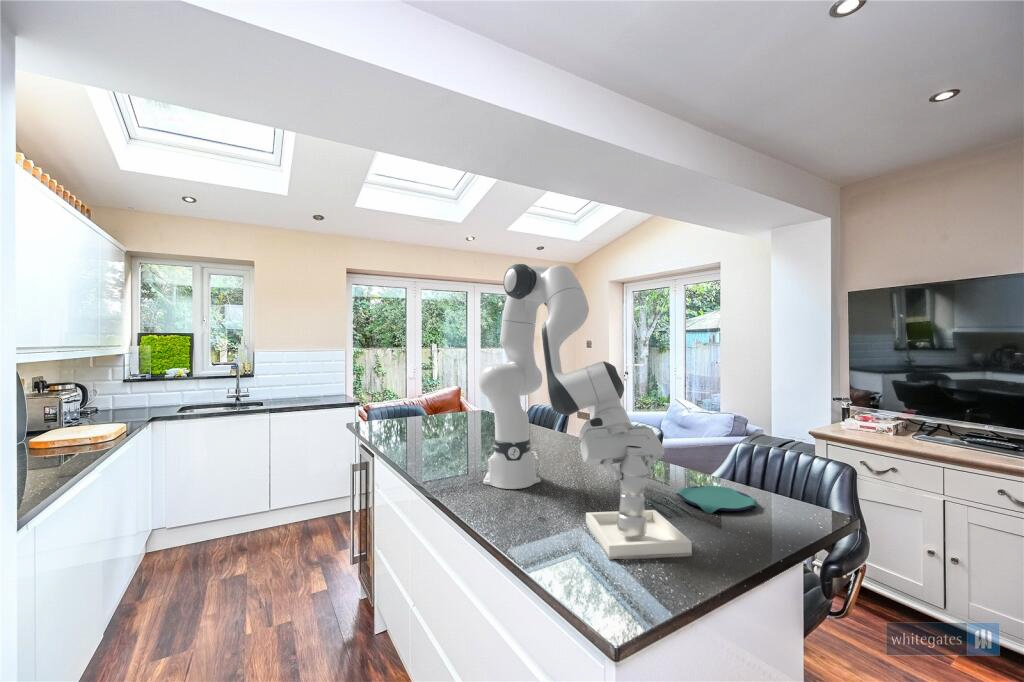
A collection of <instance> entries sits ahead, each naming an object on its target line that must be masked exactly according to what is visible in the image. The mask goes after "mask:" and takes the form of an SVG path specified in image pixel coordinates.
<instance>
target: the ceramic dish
mask: <svg viewBox="0 0 1024 682" xmlns="http://www.w3.org/2000/svg"><path fill="white" fill-rule="evenodd" d="M618 513H619V510H618V511H616V510H615V511H595V512H593V511H592V512H585V526H586V525H587V526H586V527H587V529H588V528H589V529H588V530H589V532H590V534H591V535H592V536H593V538H594V537H595V538H594V540H595V539H596V540H597V541H596V540H595V541H596V543H597V542H598V543H599V544H598V543H597V544H598V546H599V545H600V546H601V547H600V546H599V547H600V548H602V549H603V550H602V549H601V550H602V552H603V551H604V552H605V553H604V552H603V553H604V555H605V554H606V555H605V556H606V558H607V557H608V558H607V559H608V560H609V561H614V560H613V559H624V560H639V559H643V560H644V559H660V558H661V559H662V558H678V557H679V558H682V557H692V556H693V551H692V550H693V549H692V547H693V546H692V545H693V544H692V541H691V540H690V539H689V538H688V537H687V536H686V535H684V534H683V533H682V532H681V531H680V530H678V528H677V527H675V526H674V525H673V524H672V523H671V522H670V521H669V520H667V519H666V518H665V517H664V516H663V515H661V514H660V513H659V512H658V510H657V509H645V516H646V520H647V530H646V534H645V535H644V536H643V537H641V538H633V537H627V536H624V535H622V534H620V532H619V531H618V529H617V517H618Z"/></svg>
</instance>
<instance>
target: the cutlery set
mask: <svg viewBox="0 0 1024 682" xmlns="http://www.w3.org/2000/svg"><path fill="white" fill-rule="evenodd" d="M676 495H677V496H678V497H679V499H681V500H683V501H684V502H685V503H688V504H690V505H692V506H695V507H698V508H701V510H703V512H705V513H706V514H710V513H711V514H713V513H715V512H716V511H724V512H740V511H745V510H749V509H751V508H754V509H756V507H757V504H758V501H757V500H756V498H753V497H752V496H750V495H748V494H746V493H744V492H741V491H738V490H734V489H733V488H732V487H725V486H719V485H703V486H701V485H700V486H698V485H697V486H690V487H689V486H688V487H682V488H680V489H679V491H678V492H677V493H676ZM653 497H658V498H660V499H662V500H664V501H665V503H664V502H660V501H657V500H655V499H654V500H650V501H648V502H647V501H645V502H646V503H645V504H647V503H648V504H651V505H653V506H652V507H653V508H655V509H656V508H657V509H658V510H657V509H656V510H657V511H659V512H660V511H661V512H660V513H662V514H663V515H665V516H666V517H668V518H672V514H671V513H670V512H668V511H667V510H664V509H663V508H661V507H659V506H658V505H657V504H658V503H661V504H660V505H662V506H665V507H667V508H669V509H671V510H672V511H674V512H675V513H676V514H678V515H679V516H684V512H682V511H681V510H679V509H682V510H683V511H685V512H687V513H689V514H690V515H691V517H694V516H695V513H693V512H691V511H690V510H688V509H687V508H685V507H684V506H683V505H682V504H680V503H679V502H676V501H675V500H673V499H671V498H670V497H669V496H666V495H665V496H664V495H662V497H660V496H655V495H654V496H653ZM663 497H664V498H663ZM665 498H666V500H667V501H668V500H669V501H668V502H670V503H671V502H672V504H673V505H675V506H677V508H679V509H677V508H675V507H673V506H671V505H668V504H666V503H667V501H666V500H665ZM662 500H661V501H662ZM654 501H655V502H654ZM656 502H657V504H656ZM648 504H647V505H648ZM651 505H650V506H651Z"/></svg>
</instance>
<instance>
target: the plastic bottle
mask: <svg viewBox="0 0 1024 682" xmlns="http://www.w3.org/2000/svg"><path fill="white" fill-rule="evenodd" d="M625 454H626V457H625V458H624V459H623V460H622V462H621V463H619V465H618V468H617V470H620V471H621V474H622V479H621V480H618V481H619V492H620V493H619V505H618V506H619V508H618V511H619V513H618V517H617V529H618V531H619V532H620V534H622V535H624V536H627V537H633V538H641V537H643V536H644V535H645V534H646V530H647V520H646V516H645V510H646V505H645V504H646V503H645V500H646V499H645V498H646V486H647V481H648V478H647V476H648V470H647V467H646V465H645V463H644V462H643V460H642V459H641V456H642V455H643V453H642V447H639V446H631V445H628V446H626V451H625Z"/></svg>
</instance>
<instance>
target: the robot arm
mask: <svg viewBox="0 0 1024 682" xmlns="http://www.w3.org/2000/svg"><path fill="white" fill-rule="evenodd" d="M503 288H504V291H505V293H506V294H507V296H506V299H505V303H504V305H503V306H504V307H503V311H502V318H501V326H500V334H499V344H500V347H502V349H503V350H504V352H505V355H506V363H499V364H498V363H496V364H494V365H491V366H488V367H486V368H484V369H483V370H482V371H481V373H480V375H479V378H478V380H479V381H478V383H479V385H478V386H479V389H480V391H481V392H482V393H483V395H484V396H485V397H487V399H488V401H489V402H490V405H491V408H492V410H493V414H494V436H495V437H494V439H493V454H492V455H491V456H490V457H489V458H488V459H487V467H489V468H488V469H487V473H486V474H485V477H484V478H483V482H482V484H484V485H488V486H493V487H495V488H498V489H506V490H508V489H509V490H517V489H519V490H520V489H525V488H529V487H531V486H533V485H535V484H538V483H541V478H540V477H539V476H538V475H537V474H536V459H535V456H534V455H533V454H532V453H531V439H530V435H529V434H530V433H529V432H530V425H529V424H530V423H529V421H530V420H529V419H530V418H529V414H528V412H526V411H525V410H524V409H523V407H522V404H521V401H520V397H522V396H528V395H530V394H533V393H535V392H536V391H538V390H539V389H540V387H541V386H542V384H543V374H542V372H541V369H540V368H539V367H538V365H537V363H536V359H535V358H536V357H535V352H534V342H535V333H536V323H537V313H538V309H539V307H540V306H541V305H544V306H545V307H546V308H547V317H546V320H545V322H544V323H543V324H542V325H541V339H542V348H543V356H544V363H545V372H546V379H547V380H546V381H547V383H546V384H547V398H548V402H549V404H550V407H551V409H552V410H553V411H554V412H556V413H557V414H560V415H563V416H566V417H568V416H571V415H573V414H576V413H578V412H580V410H584V409H587V410H588V411H589V412H588V413H590V414H591V418H590V419H588V420H586V421H585V422H584V424H583V425H582V426H581V429H580V430H579V434H578V438H579V440H580V441H581V442H580V443H579V444H580V445H579V448H580V453H581V457H582V460H583V463H585V464H586V465H587V466H589V467H591V466H601V465H603V467H604V469H605V470H606V471H607V473H609V474H610V475H611V476H612V479H613V481H615V482H616V481H619V480H621V479H622V474H621V471H620V470H618V469H617V468H616V467H615V466H614V464H620V463H621V462H622V460H623V459H624V458H625V457H626V454H625V451H626V446H628V445H631V446H639V447H642V453H643V455H642V456H641V459H642V460H643V462H644V463H645V465H646V467H647V470H648V476H647V479H648V478H652V477H653V474H654V473H653V470H652V469H651V468H652V462H655V461H660V459H661V458H662V457H663V456H664V454H665V451H666V450H665V448H664V446H663V444H662V442H661V441H660V439H659V437H658V436H657V434H656V433H655V431H654V429H653V428H651V427H649V426H647V425H642V424H641V425H632V421H631V420H630V418H629V416H628V413H627V411H626V409H625V408H624V406H622V402H621V399H622V397H623V395H624V391H625V385H624V382H623V381H622V379H621V377H620V375H619V374H618V371H617V368H616V366H615V365H613V364H612V363H610V362H607V361H599V362H596V363H592V364H590V365H588V366H585V367H582V368H579V369H577V370H573V371H571V372H567V373H563V368H562V361H561V355H560V350H561V346H562V345H563V343H565V341H566V340H568V338H569V337H571V335H573V334H574V333H575V332H577V331H578V330H579V329H581V327H582V326H583V325H584V324H585V322H586V320H587V318H588V316H589V311H590V306H589V303H588V299H587V296H586V294H585V291H584V289H583V287H582V285H581V283H580V281H579V280H578V277H576V274H575V273H574V272H573V271H572V269H570V267H568V266H566V265H563V264H555V265H552V266H550V267H547V266H543V265H530V264H525V263H515V264H512V265H511V266H509V267H508V269H507V270H506V271H505V273H504V276H503Z"/></svg>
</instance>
